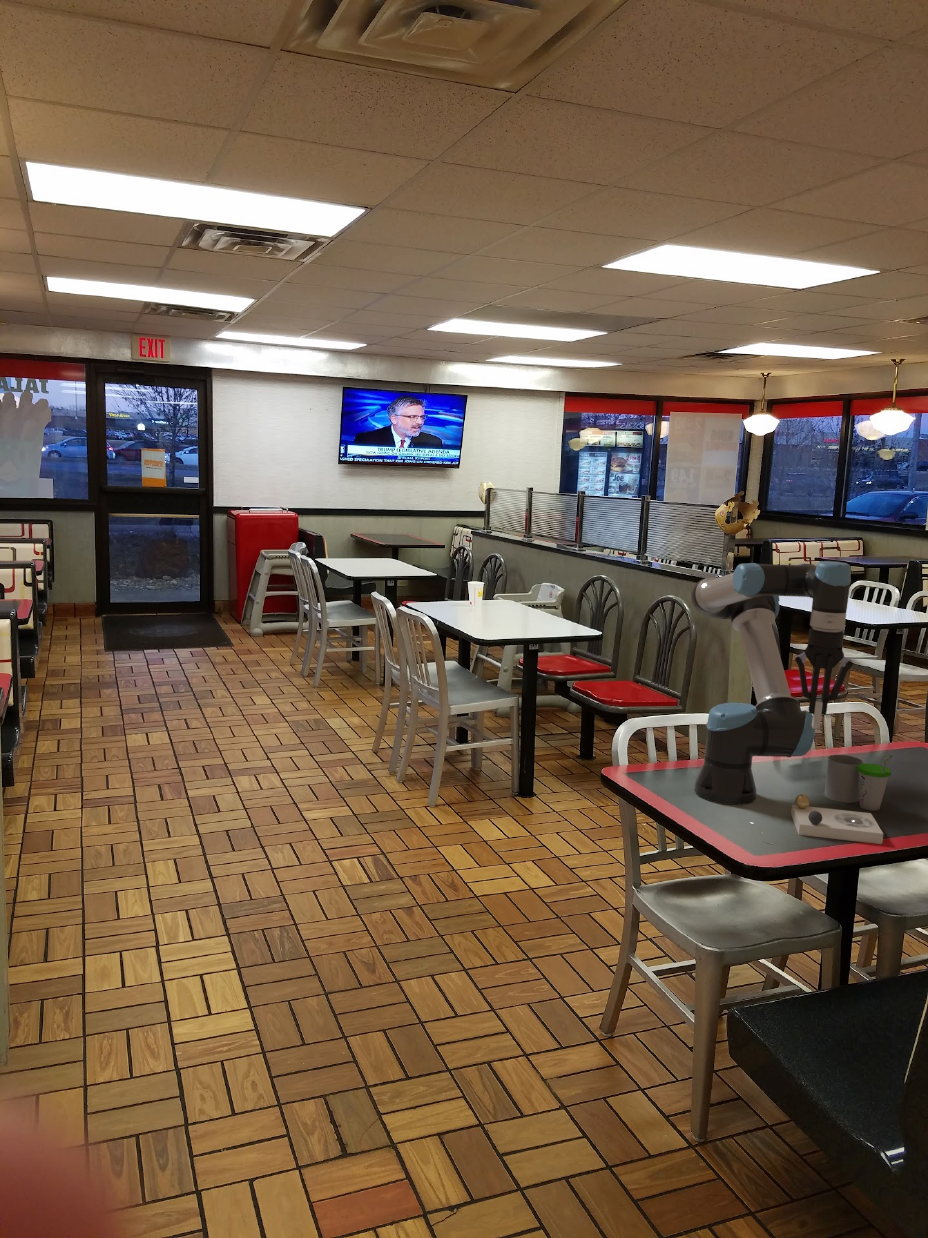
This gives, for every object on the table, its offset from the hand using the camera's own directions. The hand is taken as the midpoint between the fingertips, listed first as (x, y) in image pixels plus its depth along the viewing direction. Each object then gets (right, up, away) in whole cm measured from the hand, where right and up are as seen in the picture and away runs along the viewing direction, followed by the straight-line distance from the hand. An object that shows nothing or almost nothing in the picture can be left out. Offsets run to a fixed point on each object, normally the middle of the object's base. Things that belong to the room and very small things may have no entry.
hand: (815, 727), depth 219 cm
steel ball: (+9, -23, -2) cm, 24 cm away
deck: (+4, -24, 0) cm, 24 cm away
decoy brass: (-1, -18, +5) cm, 19 cm away
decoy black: (-2, -20, -5) cm, 21 cm away
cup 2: (+19, -22, +15) cm, 33 cm away
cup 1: (+15, -21, +22) cm, 34 cm away
